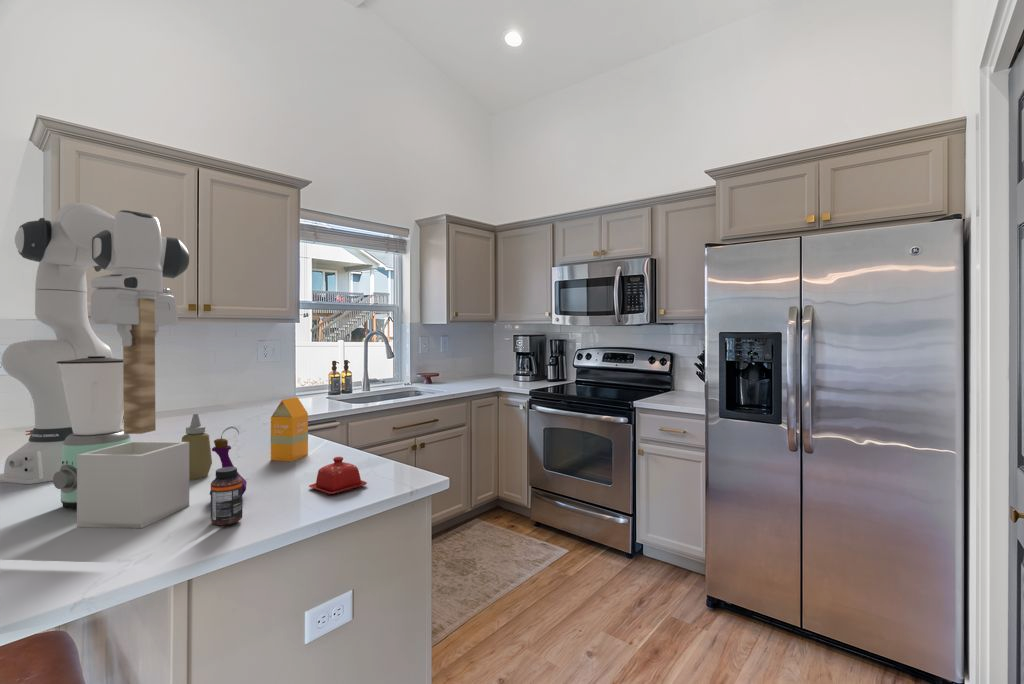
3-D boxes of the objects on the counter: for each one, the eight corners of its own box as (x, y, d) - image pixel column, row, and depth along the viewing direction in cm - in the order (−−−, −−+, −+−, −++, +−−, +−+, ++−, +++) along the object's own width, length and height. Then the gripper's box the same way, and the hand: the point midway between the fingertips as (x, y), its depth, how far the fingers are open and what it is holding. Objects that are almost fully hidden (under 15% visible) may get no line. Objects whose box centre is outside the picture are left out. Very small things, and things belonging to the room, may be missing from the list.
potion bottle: (209, 507, 115) (209, 430, 115) (211, 498, 121) (211, 425, 121) (246, 503, 118) (246, 427, 118) (246, 494, 125) (246, 423, 125)
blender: (81, 516, 109) (81, 357, 109) (35, 511, 112) (35, 357, 112) (160, 491, 127) (160, 355, 127) (119, 487, 130) (119, 354, 130)
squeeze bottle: (218, 474, 143) (218, 412, 143) (198, 482, 135) (198, 416, 135) (192, 473, 144) (192, 411, 144) (171, 481, 136) (171, 416, 136)
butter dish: (306, 489, 129) (306, 457, 129) (345, 480, 138) (345, 449, 138) (330, 498, 122) (330, 464, 122) (369, 488, 131) (369, 456, 131)
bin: (77, 526, 103) (76, 454, 103) (132, 504, 117) (132, 441, 117) (141, 528, 102) (141, 455, 102) (189, 505, 116) (189, 441, 116)
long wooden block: (123, 433, 108) (122, 296, 108) (138, 430, 112) (137, 298, 112) (141, 433, 108) (140, 296, 108) (155, 430, 112) (154, 297, 112)
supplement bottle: (219, 516, 109) (219, 465, 109) (247, 515, 109) (247, 464, 109) (204, 526, 103) (204, 472, 103) (234, 526, 104) (234, 472, 103)
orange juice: (270, 462, 157) (270, 399, 157) (287, 456, 166) (287, 396, 166) (292, 463, 156) (292, 400, 156) (308, 457, 165) (308, 397, 165)
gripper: (160, 289, 120) (160, 345, 120) (83, 278, 100) (84, 346, 100) (185, 288, 120) (185, 345, 120) (113, 277, 100) (113, 346, 100)
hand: (138, 346), depth 110 cm, fingers closed on long wooden block, 4 cm apart
